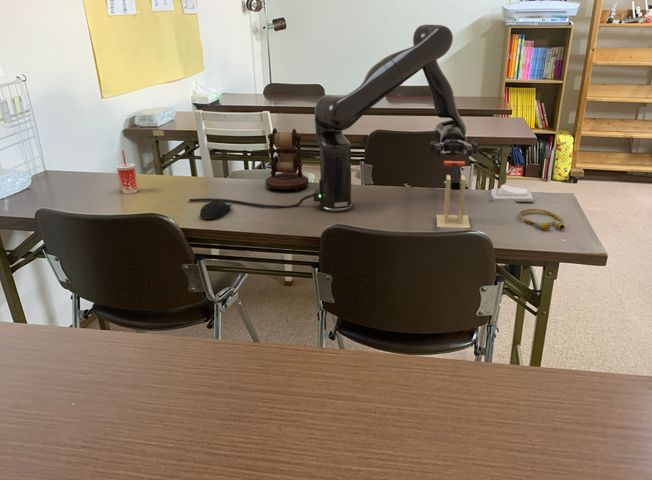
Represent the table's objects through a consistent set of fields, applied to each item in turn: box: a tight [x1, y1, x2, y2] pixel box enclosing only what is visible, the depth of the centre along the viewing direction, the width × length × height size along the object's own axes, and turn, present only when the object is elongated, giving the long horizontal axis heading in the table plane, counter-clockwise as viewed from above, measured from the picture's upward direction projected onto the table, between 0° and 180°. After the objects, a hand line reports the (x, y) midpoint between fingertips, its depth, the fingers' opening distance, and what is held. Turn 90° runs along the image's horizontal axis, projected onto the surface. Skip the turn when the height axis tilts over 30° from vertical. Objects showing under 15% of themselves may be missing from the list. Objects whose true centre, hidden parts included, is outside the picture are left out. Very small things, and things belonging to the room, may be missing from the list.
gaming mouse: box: [199, 200, 232, 220], centre depth 168 cm, size 6×15×4 cm, turn 163°
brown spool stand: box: [264, 127, 310, 192], centre depth 188 cm, size 15×15×20 cm
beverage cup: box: [115, 150, 138, 195], centre depth 186 cm, size 6×6×14 cm
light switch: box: [490, 184, 534, 203], centre depth 180 cm, size 11×4×13 cm
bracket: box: [436, 174, 471, 229], centre depth 155 cm, size 10×9×14 cm
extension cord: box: [518, 208, 565, 231], centre depth 160 cm, size 12×16×2 cm
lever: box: [443, 160, 466, 191], centre depth 157 cm, size 13×6×2 cm, turn 174°
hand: (454, 152), depth 164 cm, fingers open, 8 cm apart
